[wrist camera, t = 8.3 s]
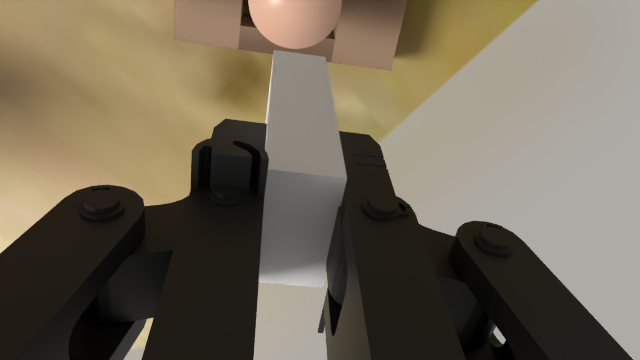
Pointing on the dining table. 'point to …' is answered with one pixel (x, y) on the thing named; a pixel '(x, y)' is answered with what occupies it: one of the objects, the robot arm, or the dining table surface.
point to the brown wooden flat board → (338, 47)
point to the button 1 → (295, 20)
